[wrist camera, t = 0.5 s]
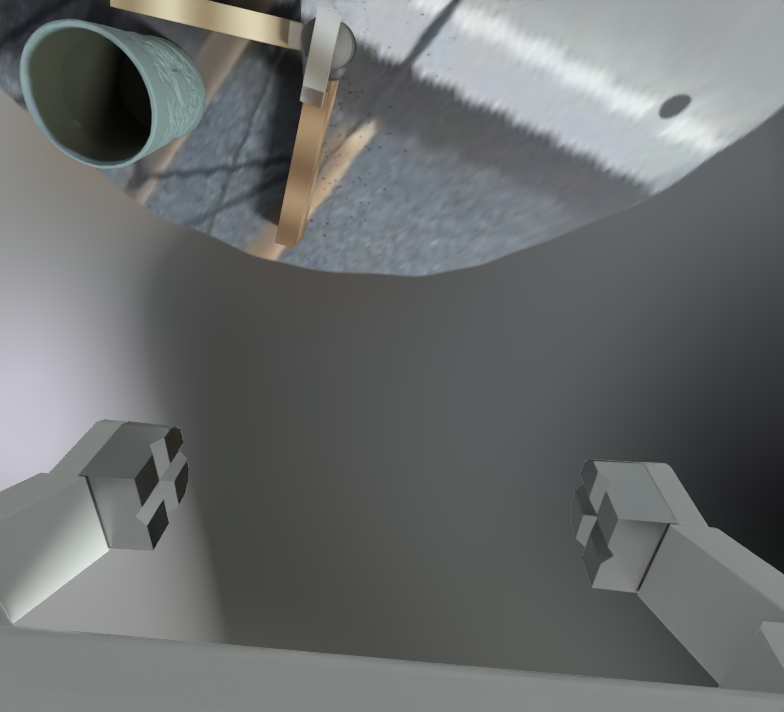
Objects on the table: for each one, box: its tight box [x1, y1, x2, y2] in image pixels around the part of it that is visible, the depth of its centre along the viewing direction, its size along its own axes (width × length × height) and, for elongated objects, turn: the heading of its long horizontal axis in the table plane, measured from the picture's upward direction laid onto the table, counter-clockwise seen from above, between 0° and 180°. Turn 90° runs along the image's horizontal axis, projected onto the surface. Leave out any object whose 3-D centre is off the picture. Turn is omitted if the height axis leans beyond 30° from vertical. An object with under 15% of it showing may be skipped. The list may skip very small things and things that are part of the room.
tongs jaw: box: [275, 6, 342, 249], centre depth 46 cm, size 20×2×6 cm, turn 162°
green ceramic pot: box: [20, 19, 205, 169], centre depth 43 cm, size 10×10×12 cm
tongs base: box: [110, 0, 356, 68], centre depth 43 cm, size 20×4×6 cm, turn 78°
